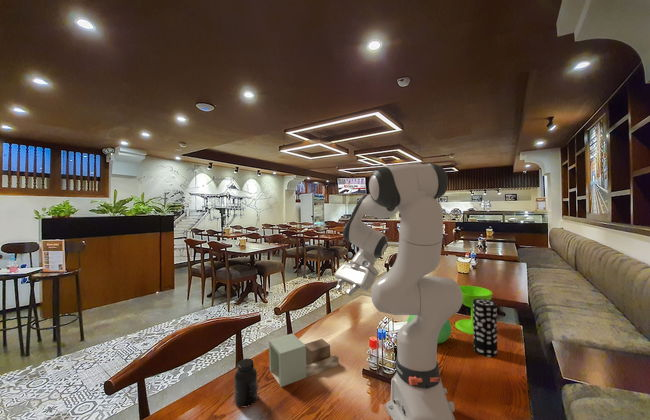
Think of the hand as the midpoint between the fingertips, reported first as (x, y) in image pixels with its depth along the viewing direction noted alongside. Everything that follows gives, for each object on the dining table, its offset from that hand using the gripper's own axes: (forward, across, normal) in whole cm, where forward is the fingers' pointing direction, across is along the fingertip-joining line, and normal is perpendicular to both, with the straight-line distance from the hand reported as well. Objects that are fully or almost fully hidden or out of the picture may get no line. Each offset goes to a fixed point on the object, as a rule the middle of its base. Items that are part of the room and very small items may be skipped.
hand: (342, 292), depth 111 cm
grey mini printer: (+31, 0, +5) cm, 31 cm away
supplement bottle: (+47, +4, -11) cm, 48 cm away
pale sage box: (+35, 0, 0) cm, 35 cm away
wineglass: (-28, +15, +64) cm, 72 cm away
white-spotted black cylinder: (-16, +30, +53) cm, 63 cm away
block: (+26, 0, +9) cm, 28 cm away
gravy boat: (-8, +12, +44) cm, 47 cm away
